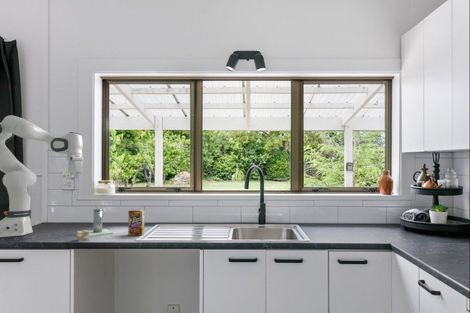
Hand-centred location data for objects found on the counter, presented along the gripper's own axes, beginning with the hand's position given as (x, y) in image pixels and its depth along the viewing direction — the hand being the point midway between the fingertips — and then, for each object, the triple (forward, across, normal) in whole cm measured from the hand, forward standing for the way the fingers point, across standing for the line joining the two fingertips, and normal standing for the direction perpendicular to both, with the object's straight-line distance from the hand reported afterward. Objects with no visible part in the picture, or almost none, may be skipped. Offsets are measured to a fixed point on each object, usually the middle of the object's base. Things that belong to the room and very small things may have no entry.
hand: (74, 180), depth 205 cm
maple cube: (+33, +22, 0) cm, 40 cm away
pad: (+33, +9, +12) cm, 36 cm away
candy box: (+33, +28, +29) cm, 52 cm away
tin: (+32, +9, +12) cm, 35 cm away
